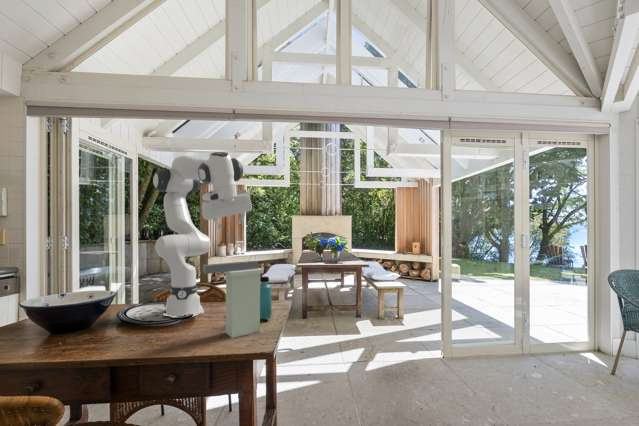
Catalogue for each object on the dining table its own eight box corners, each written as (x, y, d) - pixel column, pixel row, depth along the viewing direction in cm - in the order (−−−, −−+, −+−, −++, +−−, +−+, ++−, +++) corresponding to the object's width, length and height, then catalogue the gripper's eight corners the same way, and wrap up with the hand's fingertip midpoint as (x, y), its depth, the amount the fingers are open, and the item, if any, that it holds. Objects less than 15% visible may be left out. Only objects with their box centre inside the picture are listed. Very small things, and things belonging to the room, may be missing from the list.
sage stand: (230, 339, 126) (230, 272, 127) (222, 332, 134) (223, 269, 134) (263, 331, 135) (263, 269, 135) (253, 325, 142) (254, 266, 142)
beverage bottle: (268, 322, 146) (269, 278, 146) (254, 321, 147) (255, 277, 147) (273, 318, 152) (274, 275, 153) (260, 317, 154) (260, 275, 154)
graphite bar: (205, 273, 124) (205, 265, 124) (202, 272, 126) (203, 264, 126) (258, 268, 137) (258, 261, 137) (255, 267, 139) (255, 260, 139)
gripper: (245, 188, 139) (250, 219, 142) (197, 196, 127) (203, 230, 130) (252, 189, 134) (256, 221, 137) (203, 197, 122) (209, 232, 125)
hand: (230, 225), depth 133 cm, fingers open, 8 cm apart
